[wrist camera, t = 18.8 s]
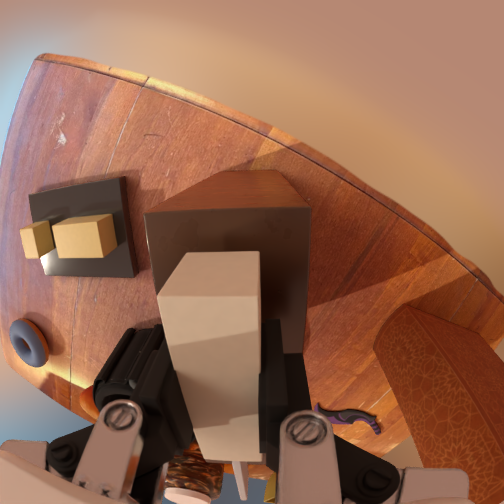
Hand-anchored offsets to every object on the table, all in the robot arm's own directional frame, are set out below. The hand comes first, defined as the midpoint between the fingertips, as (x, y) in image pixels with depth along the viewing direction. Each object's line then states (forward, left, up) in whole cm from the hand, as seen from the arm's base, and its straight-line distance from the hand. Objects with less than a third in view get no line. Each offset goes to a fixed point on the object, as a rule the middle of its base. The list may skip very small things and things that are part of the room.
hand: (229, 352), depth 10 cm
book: (+20, +28, -21) cm, 41 cm away
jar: (+44, -12, -21) cm, 51 cm away
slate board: (0, -22, -21) cm, 31 cm away
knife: (+37, +18, -21) cm, 47 cm away
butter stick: (0, -19, -20) cm, 27 cm away
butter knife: (+4, 0, 0) cm, 4 cm away
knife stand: (+4, 0, -21) cm, 22 cm away
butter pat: (0, -28, -20) cm, 34 cm away
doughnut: (+20, -42, -21) cm, 51 cm away
